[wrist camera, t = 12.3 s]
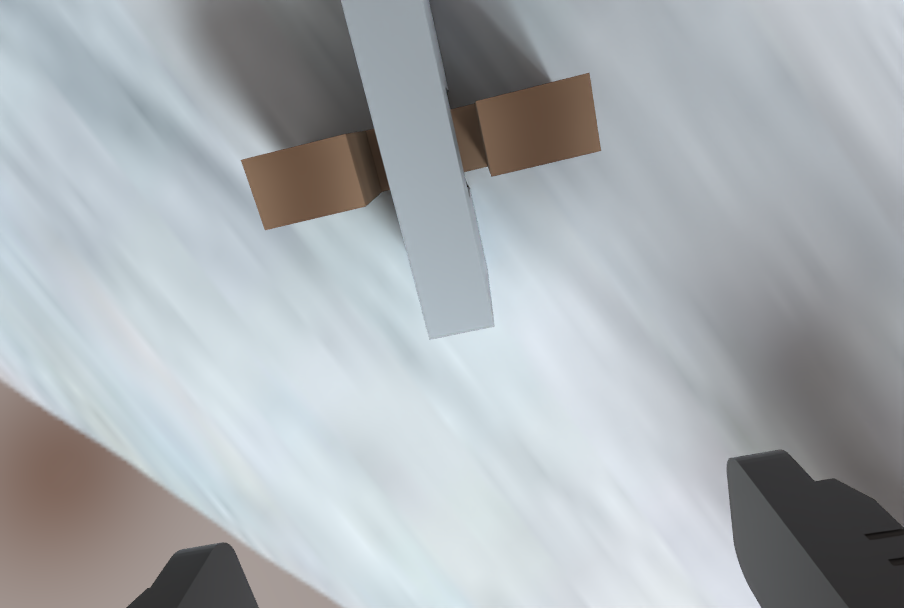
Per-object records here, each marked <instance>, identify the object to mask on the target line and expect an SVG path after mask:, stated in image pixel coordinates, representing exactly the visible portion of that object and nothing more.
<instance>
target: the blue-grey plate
mask: <svg viewBox="0 0 904 608" xmlns="http://www.w3.org/2000/svg"><path fill="white" fill-rule="evenodd" d="M341 3H342V7H343V11H344V15H345V19H346V22H347V26H348V30H349V34H350V38H351V42H352V45H353V49H354V53H355V57H356V61H357V64H358V68H359V72H360V76H361V80H362V84H363V87H364V91H365V95H366V99H367V103H368V106H369V110H370V114H371V118H372V122H373V126H374V129H375V133H376V137H377V141H378V145H379V148H380V152H381V156H382V160H383V164H384V168H385V171H386V175H387V179H388V183H389V187H390V191H391V194H392V198H393V202H394V206H395V210H396V213H397V217H398V221H399V225H400V229H401V233H402V236H403V240H404V244H405V248H406V252H407V255H408V259H409V263H410V267H411V271H412V275H413V278H414V282H415V286H416V290H417V294H418V297H419V301H420V305H421V309H422V313H423V317H424V320H425V324H426V328H427V332H428V336H429V339H430V340H431V339H436V338H441V337H446V336H450V335H455V334H460V333H465V332H470V331H475V330H480V329H485V328H490V327H494V317H493V309H492V301H491V292H490V284H489V275H488V269H487V264H486V259H485V255H484V250H483V246H482V241H481V237H480V232H479V227H478V223H477V218H476V214H475V209H474V204H473V200H472V195H471V191H470V188H467V184H466V179H465V175H464V170H463V166H462V161H461V157H460V152H459V147H458V143H457V138H456V134H455V129H454V125H453V120H452V116H451V111H450V106H449V102H448V97H447V93H446V91H449V90H448V85H447V81H446V76H445V72H444V67H443V62H442V58H441V53H440V49H439V44H438V40H437V35H436V30H435V26H434V21H433V17H432V12H431V8H430V3H429V0H341Z"/></svg>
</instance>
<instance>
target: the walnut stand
mask: <svg viewBox="0 0 904 608" xmlns="http://www.w3.org/2000/svg"><path fill="white" fill-rule="evenodd" d="M450 111H451V116H452V120H453V125H454V129H455V134H456V138H457V143H458V147H459V152H460V157H461V161H462V166H463V170H464V172H467V171H471V170H475V169H479V168H484V167H488V168H489V171H490V174H491V177H492V176H497V175H501V174H505V173H509V172H514V171H518V170H522V169H526V168H531V167H535V166H539V165H543V164H547V163H552V162H556V161H560V160H564V159H569V158H573V157H577V156H581V155H586V154H590V153H594V152H598V151H601V147H600V141H599V134H598V127H597V121H596V114H595V107H594V100H593V94H592V87H591V80H590V74H589V73H586V74H582V75H578V76H574V77H570V78H566V79H562V80H558V81H554V82H550V83H546V84H542V85H539V86H535V87H531V88H527V89H523V90H519V91H515V92H511V93H507V94H503V95H499V96H495V97H491V98H487V99H483V100H479V101H476V102H475V103H474V104H470V105H466V106H462V107H458V108H454V109H450ZM241 162H242V164H243V167H244V170H245V173H246V176H247V179H248V182H249V185H250V188H251V191H252V194H253V197H254V200H255V202H256V205H257V208H258V211H259V214H260V217H261V220H262V223H263V226H264V229H265V230H268V229H272V228H276V227H281V226H285V225H289V224H293V223H298V222H302V221H306V220H310V219H315V218H319V217H323V216H327V215H331V214H336V213H340V212H344V211H348V210H353V209H357V208H361V207H365V206H367V205H368V204H369V203H370V202H371V201H372V200H373V199H375V198H376V197H377V196H378V195H379V194H380V193H381V192H383V191H387V190H390V187H389V183H388V179H387V175H386V171H385V168H384V164H383V160H382V156H381V152H380V148H379V145H378V141H377V137H376V133H375V129H370V130H366V131H360V132H354V133H348V134H343V135H339V136H335V137H331V138H327V139H323V140H319V141H315V142H311V143H307V144H303V145H299V146H295V147H291V148H287V149H283V150H279V151H275V152H271V153H267V154H263V155H259V156H255V157H251V158H247V159H243V160H241Z"/></svg>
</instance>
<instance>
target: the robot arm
mask: <svg viewBox="0 0 904 608" xmlns="http://www.w3.org/2000/svg"><path fill="white" fill-rule="evenodd" d="M727 478H728V489H729V499H730V509H731V519H732V530H733V540H734V546H735V550H736V554H737V558H738V561H739V564H740V567H741V570H742V572H743V575H744V577H745V579H746V581H747V583H748V585H749V587H750V589H751V591H752V592H753V594H754V596H755V597H756V599H757V601H758V603H759V604H760V606H761V608H904V528H903V527H902V526H901V525H900V524H899V523H898V522H897V521H896V520H895V519H894V518H893V517H892V516H891V515H890V514H889V513H888V512H887V511H886V510H885V509H883V508H882V507H881V506H880V505H879V504H878V503H877V502H876V501H875V500H874V499H872V498H870V497H868V496H866V495H865V494H863V493H861V492H859V491H857V490H855V489H853V488H851V487H849V486H847V485H846V484H844V483H842V482H840V481H838V480H836V479H827V480H821V481H814V480H813V479H812V478H811V477H810V476H809V475H808V474H807V473H806V472H805V471H804V470H803V468H802V467H801V466H800V465H799V464H798V463H797V462H796V461H795V460H794V459H793V458H792V457H791V456H790V455H789V454H788V453H787V452H786V451H784V450H775V451H769V452H764V453H758V454H752V455H746V456H740V457H734V458H730V459H729V460H728V462H727ZM127 608H259V607H258V605H257V602H256V600H255V598H254V595H253V593H252V591H251V588H250V586H249V584H248V581H247V579H246V577H245V574H244V572H243V569H242V567H241V565H240V562H239V560H238V558H237V555H236V553H235V551H234V549H233V548H232V547H231V546H230V545H229V544H228V543H217V544H211V545H205V546H199V547H193V548H187V549H182V550H179V551H177V552H176V553H175V554H174V555H173V556H172V557H171V558H170V560H169V561H168V563H167V564H166V566H165V567H164V568H163V570H162V571H161V573H160V574H159V576H158V577H157V579H156V580H155V582H154V583H153V585H152V586H151V587H150V588H147V589H146V590H145V591H144V592H143V593H142V594H141V595H140V596H138V597H137V598H136V599H135V600H134V601H133V602H132V603H131V604H130V605H129V606H128V607H127Z"/></svg>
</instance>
